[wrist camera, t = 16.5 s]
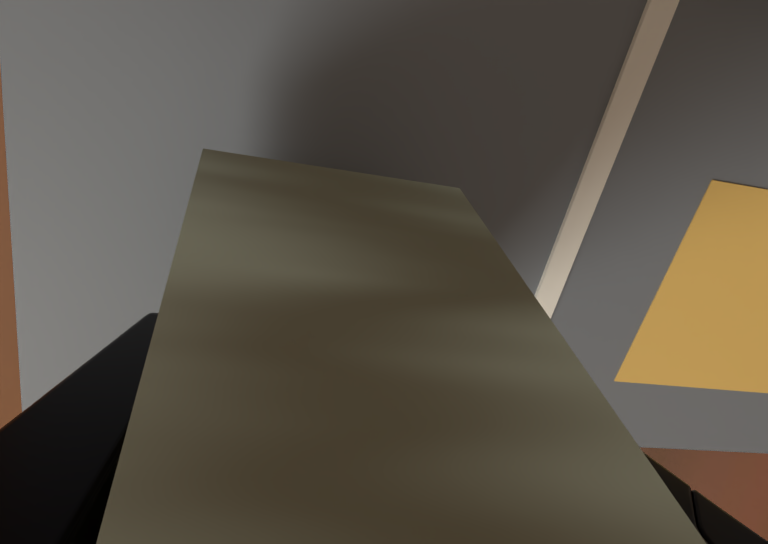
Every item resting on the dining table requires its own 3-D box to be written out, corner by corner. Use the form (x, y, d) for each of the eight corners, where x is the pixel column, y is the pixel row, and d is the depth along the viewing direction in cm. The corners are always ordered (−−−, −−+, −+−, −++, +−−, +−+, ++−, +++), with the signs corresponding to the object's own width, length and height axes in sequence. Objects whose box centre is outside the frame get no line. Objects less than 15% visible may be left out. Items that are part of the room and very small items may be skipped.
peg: (459, 188, 10) (738, 589, 4) (402, 382, 12) (538, 857, 6) (203, 149, 9) (82, 595, 3) (183, 367, 11) (83, 912, 5)
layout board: (1310, -335, 11) (1432, -363, 9) (793, 425, 18) (827, 458, 17) (-23, -1100, 6) (-92, -1342, 5) (40, 378, 13) (20, 419, 12)
